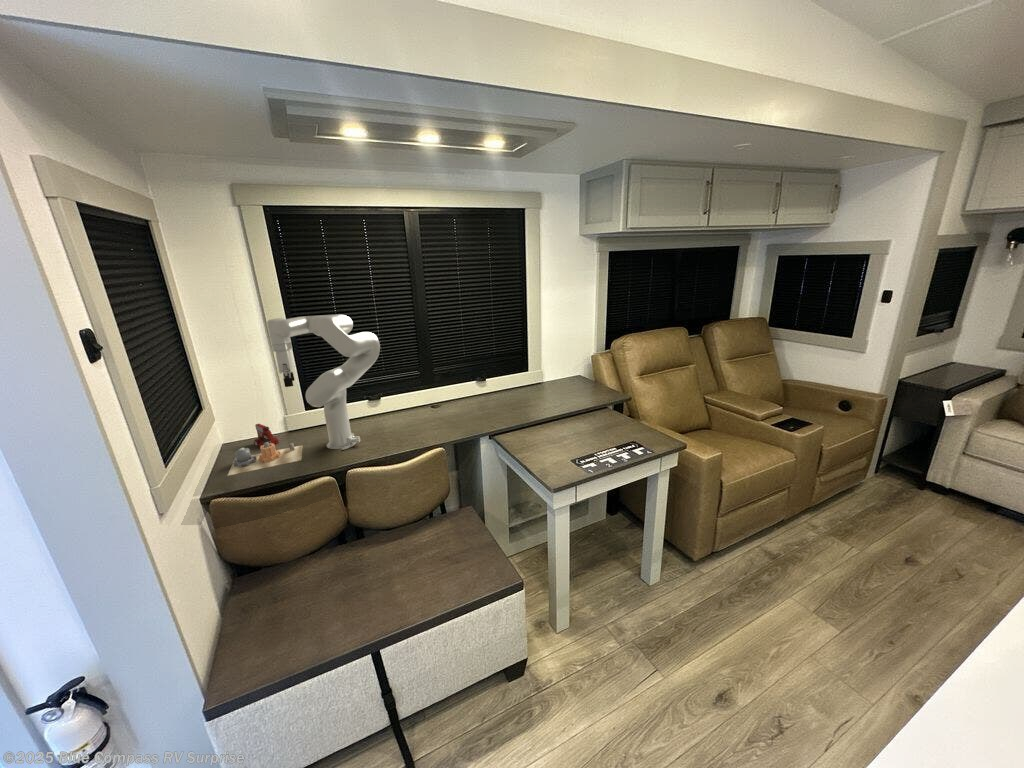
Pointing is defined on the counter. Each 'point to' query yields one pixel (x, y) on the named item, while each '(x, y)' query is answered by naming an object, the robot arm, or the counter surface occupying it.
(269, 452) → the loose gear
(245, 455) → the grey octopus toy
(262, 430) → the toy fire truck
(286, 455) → the gear board
